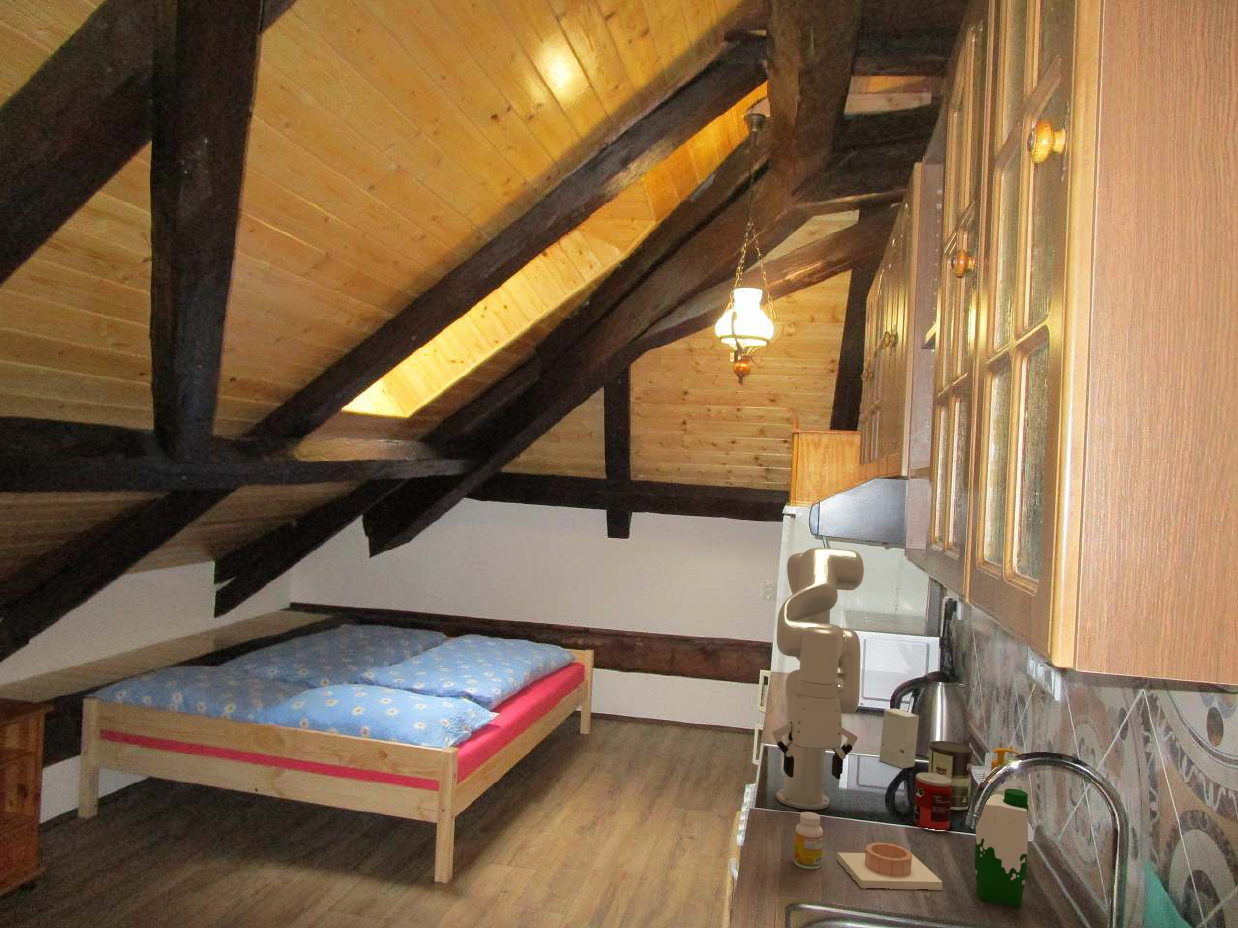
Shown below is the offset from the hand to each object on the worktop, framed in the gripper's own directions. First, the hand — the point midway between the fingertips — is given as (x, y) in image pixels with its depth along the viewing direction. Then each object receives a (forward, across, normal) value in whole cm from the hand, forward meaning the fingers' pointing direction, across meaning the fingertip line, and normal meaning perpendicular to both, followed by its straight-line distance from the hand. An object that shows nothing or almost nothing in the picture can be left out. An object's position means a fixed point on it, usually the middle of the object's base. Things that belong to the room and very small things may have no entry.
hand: (812, 776), depth 177 cm
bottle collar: (+16, -15, +3) cm, 22 cm away
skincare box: (+16, -50, -72) cm, 89 cm away
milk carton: (+18, -33, +12) cm, 40 cm away
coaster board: (+18, -15, +3) cm, 23 cm away
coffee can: (+17, -49, -40) cm, 65 cm away
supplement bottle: (+18, 0, -1) cm, 18 cm away
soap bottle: (+17, -43, -6) cm, 47 cm away
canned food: (+17, -37, -24) cm, 47 cm away
